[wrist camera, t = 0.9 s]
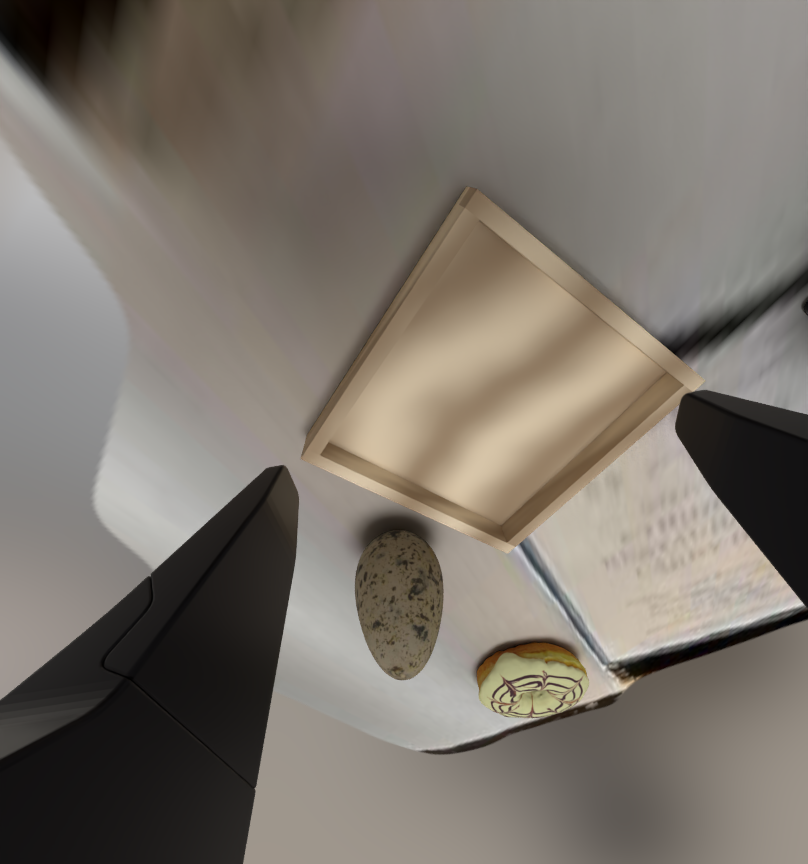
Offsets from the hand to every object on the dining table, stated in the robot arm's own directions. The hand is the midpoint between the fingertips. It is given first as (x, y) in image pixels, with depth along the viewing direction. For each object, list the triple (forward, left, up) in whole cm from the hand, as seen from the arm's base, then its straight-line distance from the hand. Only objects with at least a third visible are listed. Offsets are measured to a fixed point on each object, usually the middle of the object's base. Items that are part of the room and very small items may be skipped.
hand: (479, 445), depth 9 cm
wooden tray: (-7, +3, -14) cm, 16 cm away
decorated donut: (-31, +25, -14) cm, 42 cm away
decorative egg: (-9, +16, -14) cm, 23 cm away
